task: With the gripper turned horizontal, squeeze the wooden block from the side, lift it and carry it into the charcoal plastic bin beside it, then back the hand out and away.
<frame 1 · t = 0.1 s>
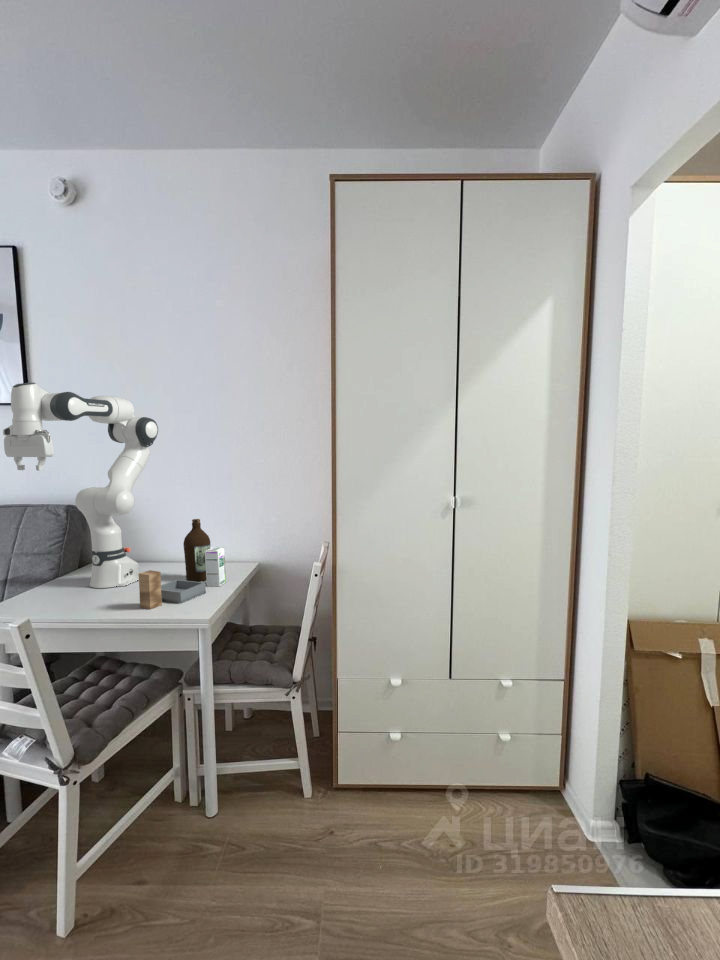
hand: (30, 470, 191), 48 cm above the table, tool pointing down, fingers open, 8 cm apart
wooden block: (151, 606, 193), on the table
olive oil: (198, 579, 228), on the table
bin: (179, 596, 205), on the table
syrup box: (216, 585, 220), on the table
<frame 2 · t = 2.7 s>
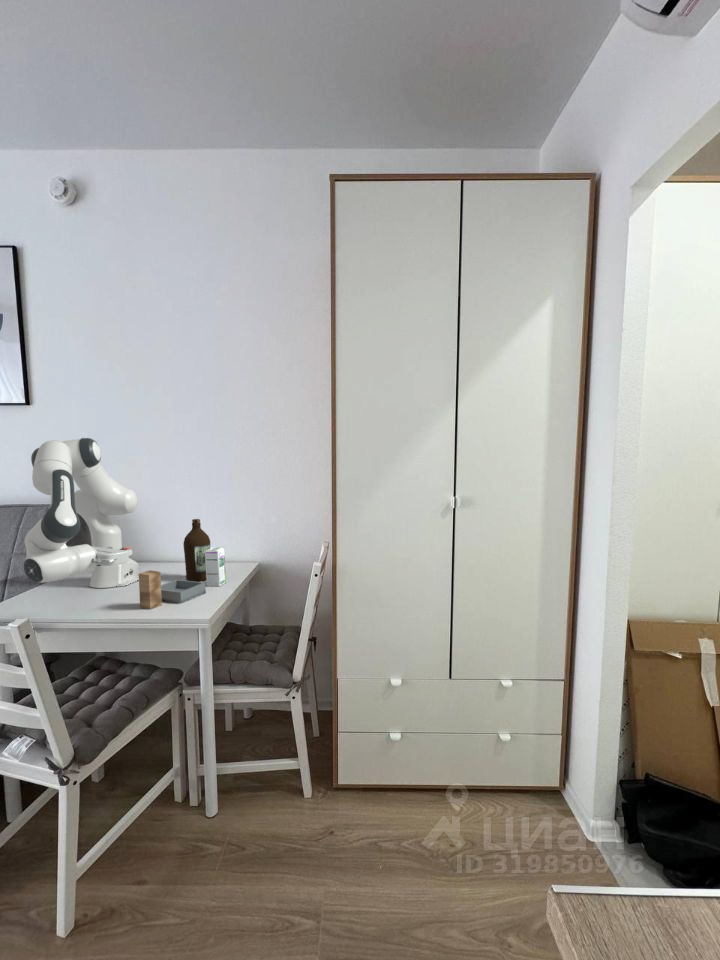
hand: (120, 550, 181), 22 cm above the table, tool horizontal, fingers open, 8 cm apart
nothing on the table moved.
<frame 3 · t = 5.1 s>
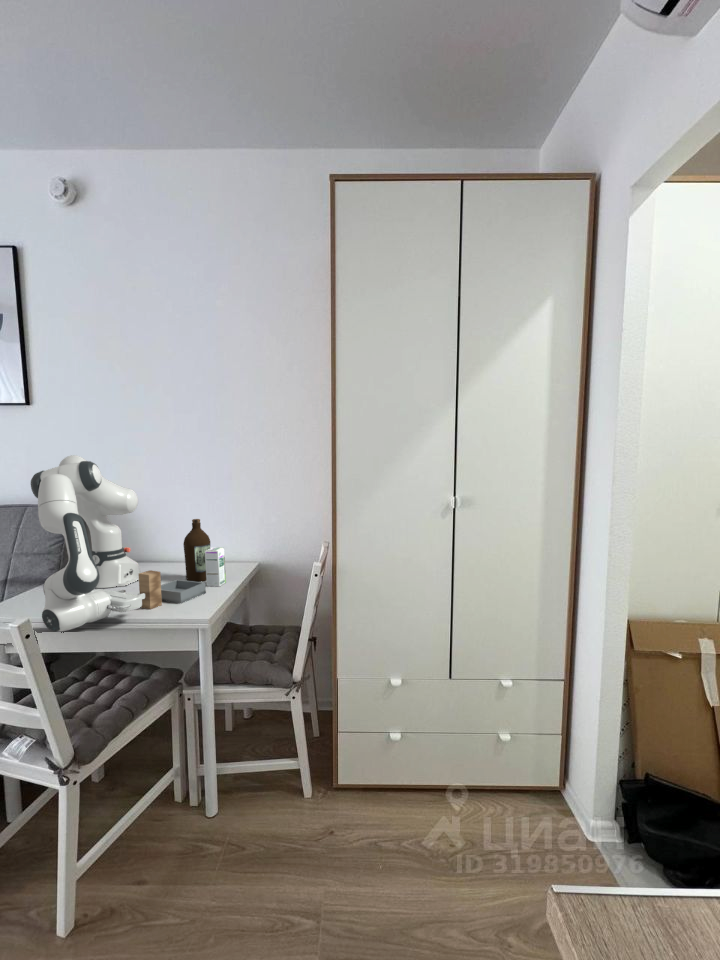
hand: (133, 593, 187), 6 cm above the table, tool horizontal, fingers open, 8 cm apart
nothing on the table moved.
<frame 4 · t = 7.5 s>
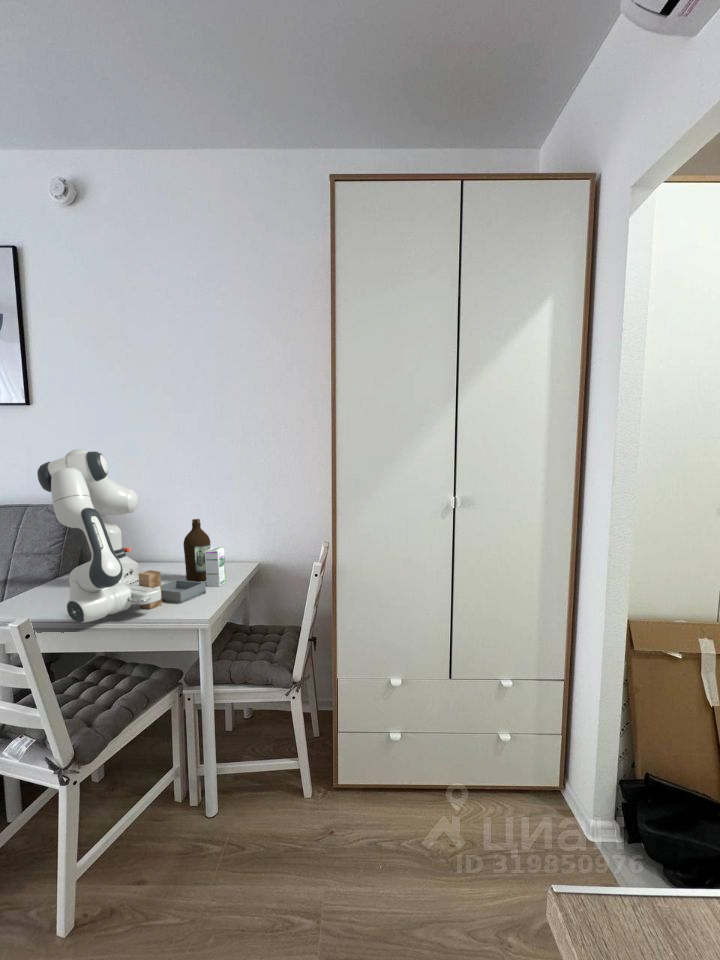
hand: (152, 587, 193), 7 cm above the table, tool horizontal, fingers closed on wooden block, 5 cm apart
wooden block: (151, 606, 193), on the table, touching gripper
everything else where it was.
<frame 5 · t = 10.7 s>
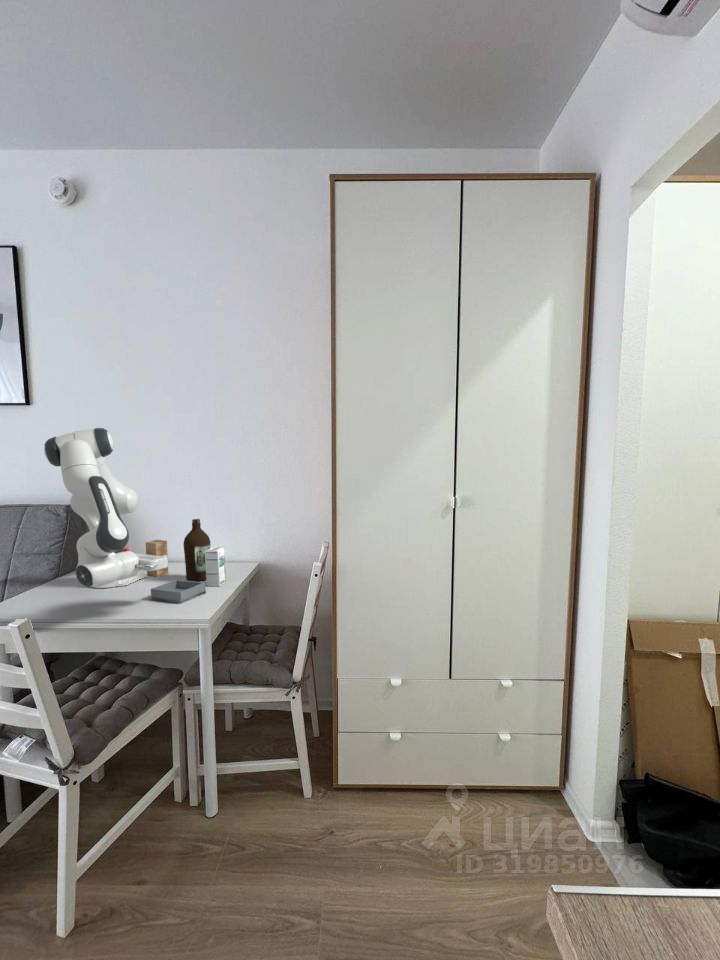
hand: (159, 556, 196), 17 cm above the table, tool horizontal, fingers closed on wooden block, 5 cm apart
wooden block: (157, 575, 196), point 10 cm above the table, touching gripper
everything else where it was.
when the fingers open (9 cm above the table, at t = 14.3 s): wooden block drops 1 cm, resting on bin.
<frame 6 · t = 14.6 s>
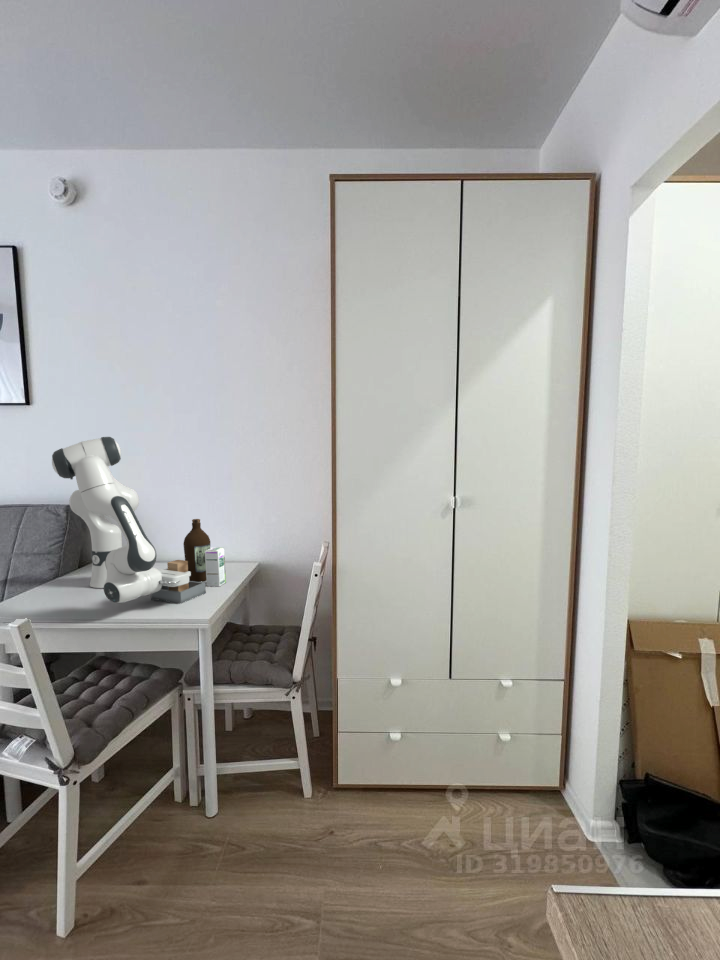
hand: (179, 571, 205), 9 cm above the table, tool horizontal, fingers open, 8 cm apart
wooden block: (178, 593, 205), point 1 cm above the table, touching bin
everything else where it was.
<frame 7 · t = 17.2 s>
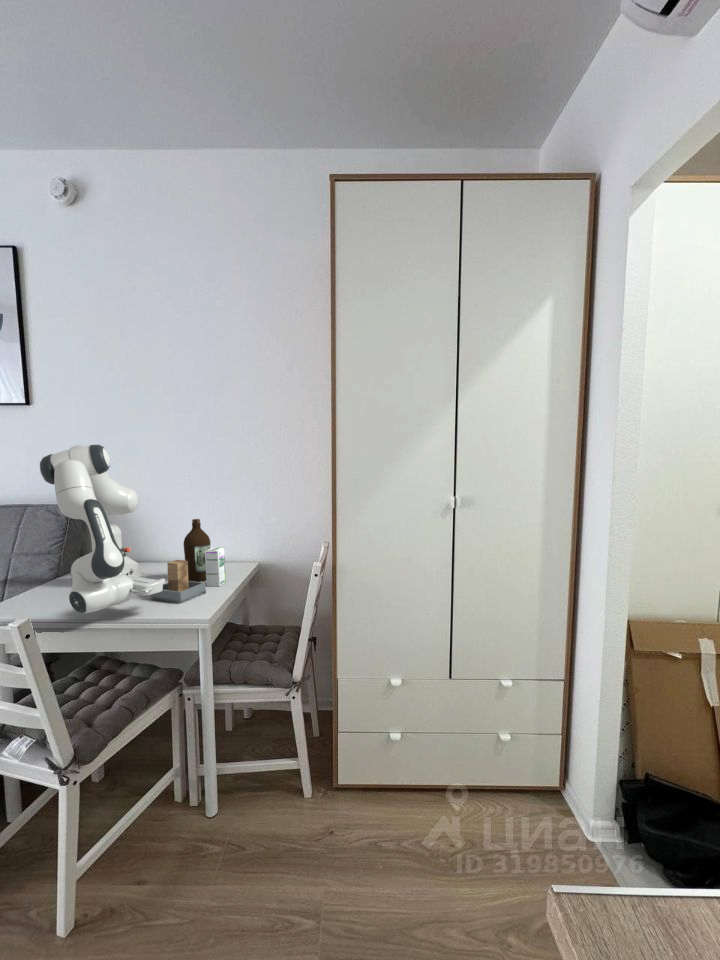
hand: (154, 579, 194), 9 cm above the table, tool horizontal, fingers open, 8 cm apart
nothing on the table moved.
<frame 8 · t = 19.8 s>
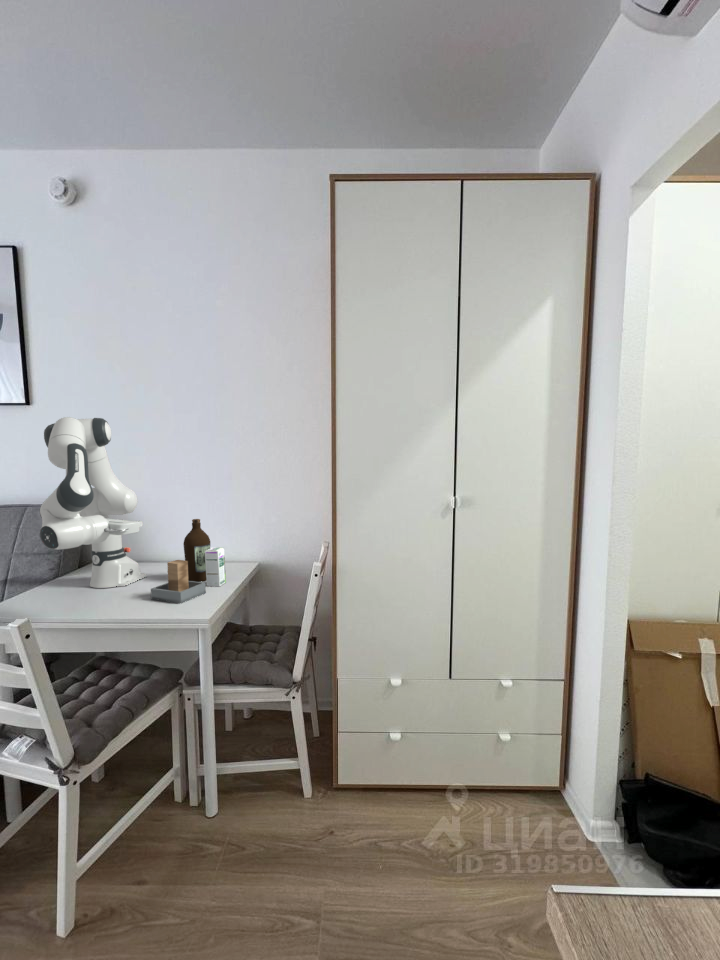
hand: (131, 522, 188), 30 cm above the table, tool horizontal, fingers open, 8 cm apart
nothing on the table moved.
at the end: wooden block inside the target area on the bin (0.0 cm from its centre), point 1.0 cm above the bin's base; wooden block tilted 0°; the gripper is holding nothing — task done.
